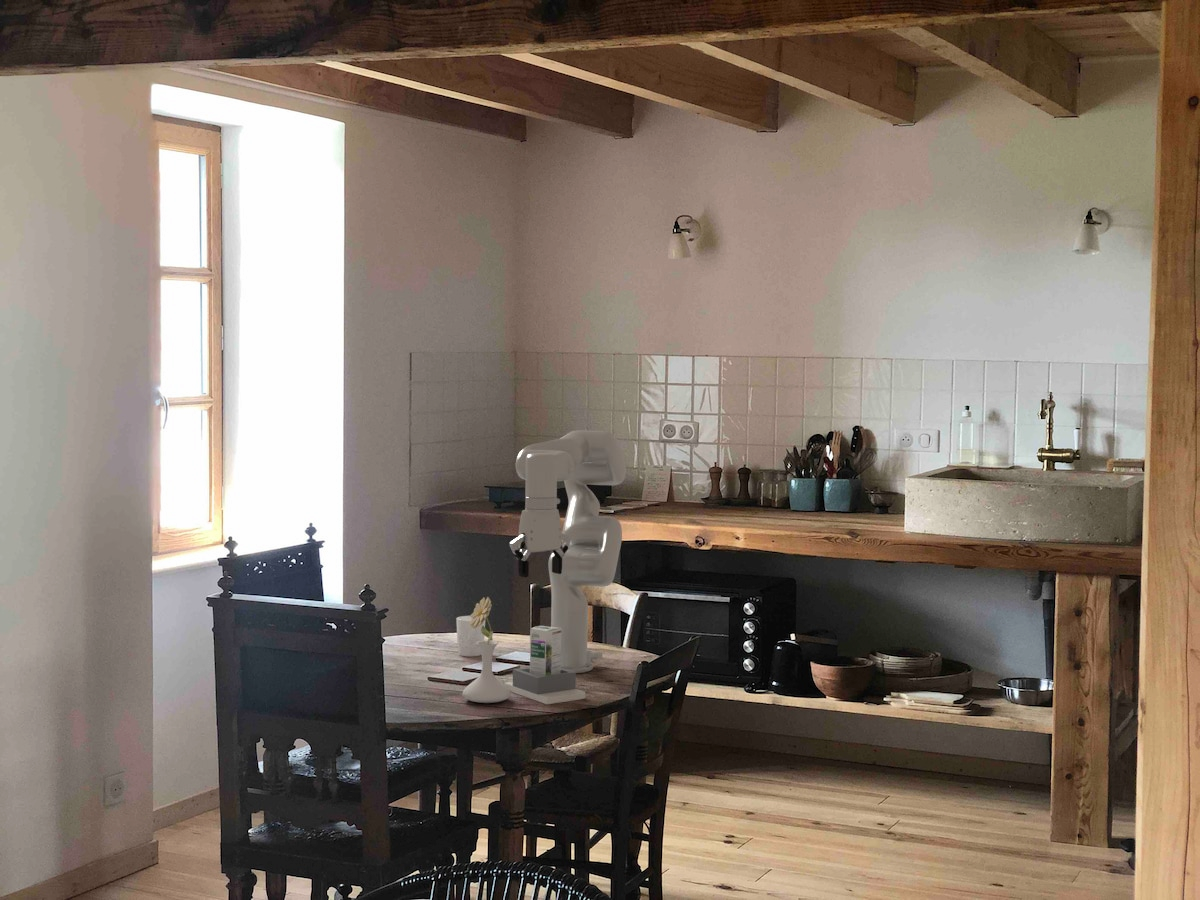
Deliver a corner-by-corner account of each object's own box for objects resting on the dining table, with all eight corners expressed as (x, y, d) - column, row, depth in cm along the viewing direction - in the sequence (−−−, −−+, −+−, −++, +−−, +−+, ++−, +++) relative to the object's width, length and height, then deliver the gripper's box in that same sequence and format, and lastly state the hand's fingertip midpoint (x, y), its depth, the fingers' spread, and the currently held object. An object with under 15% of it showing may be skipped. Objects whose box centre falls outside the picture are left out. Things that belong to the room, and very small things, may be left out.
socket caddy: (541, 683, 341) (541, 661, 340) (585, 698, 325) (585, 675, 325) (503, 688, 334) (503, 666, 334) (546, 704, 319) (546, 681, 319)
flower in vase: (462, 695, 327) (463, 591, 325) (510, 695, 327) (512, 591, 326) (461, 708, 314) (462, 600, 312) (511, 708, 314) (512, 600, 313)
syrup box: (528, 688, 329) (529, 628, 328) (541, 683, 334) (541, 624, 333) (548, 691, 326) (549, 630, 325) (561, 686, 331) (562, 626, 330)
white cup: (458, 657, 371) (459, 621, 370) (453, 652, 378) (454, 616, 378) (487, 656, 373) (487, 620, 372) (482, 651, 380) (482, 615, 380)
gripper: (561, 501, 338) (560, 569, 339) (502, 504, 327) (501, 576, 328) (579, 503, 332) (578, 573, 333) (519, 507, 321) (519, 580, 322)
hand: (540, 574), depth 331 cm, fingers open, 9 cm apart
